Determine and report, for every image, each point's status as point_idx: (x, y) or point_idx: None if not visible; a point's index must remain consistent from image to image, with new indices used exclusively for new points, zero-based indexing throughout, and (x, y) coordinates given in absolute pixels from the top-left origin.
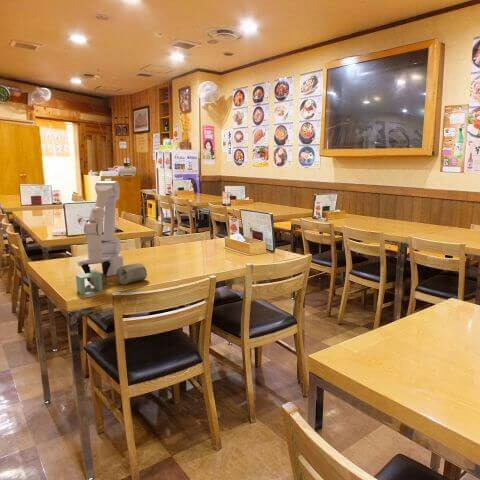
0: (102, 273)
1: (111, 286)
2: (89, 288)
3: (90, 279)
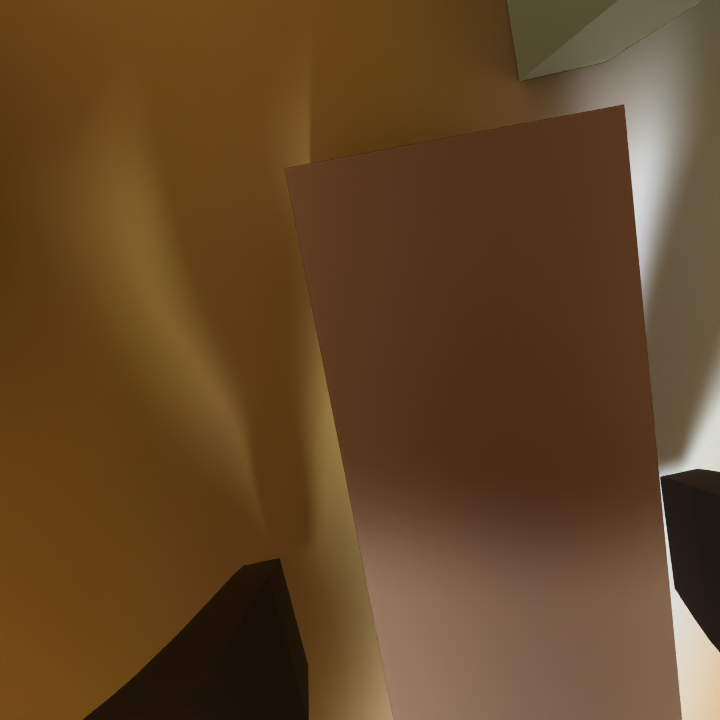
0: (347, 447)
1: (171, 22)
2: (716, 97)
3: (688, 484)
